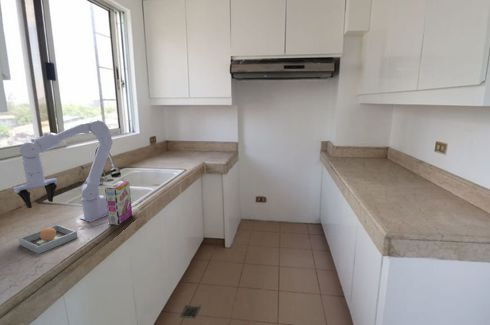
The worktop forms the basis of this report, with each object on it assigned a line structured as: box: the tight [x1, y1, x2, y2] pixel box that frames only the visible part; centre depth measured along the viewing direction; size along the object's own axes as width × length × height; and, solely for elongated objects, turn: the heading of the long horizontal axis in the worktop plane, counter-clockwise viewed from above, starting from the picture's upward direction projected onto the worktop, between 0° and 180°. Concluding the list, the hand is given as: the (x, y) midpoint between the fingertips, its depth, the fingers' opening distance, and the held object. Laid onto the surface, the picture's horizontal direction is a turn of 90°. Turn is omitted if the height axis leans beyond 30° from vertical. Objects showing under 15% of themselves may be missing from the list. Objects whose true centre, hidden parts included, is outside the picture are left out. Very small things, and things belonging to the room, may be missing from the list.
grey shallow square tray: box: [18, 224, 78, 255], centre depth 100 cm, size 13×13×2 cm
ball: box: [39, 226, 57, 241], centre depth 100 cm, size 5×5×5 cm
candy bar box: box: [104, 180, 133, 226], centre depth 117 cm, size 11×5×16 cm, turn 174°
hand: (40, 204), depth 109 cm, fingers open, 7 cm apart
